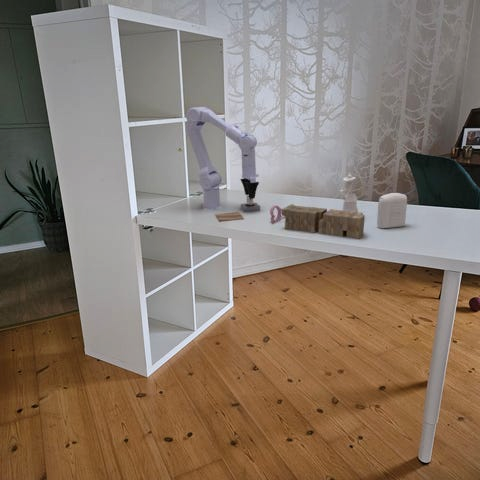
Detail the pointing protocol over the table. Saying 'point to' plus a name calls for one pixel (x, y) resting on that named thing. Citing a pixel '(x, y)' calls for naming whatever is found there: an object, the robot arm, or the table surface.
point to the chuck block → (250, 207)
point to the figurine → (349, 195)
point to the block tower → (324, 221)
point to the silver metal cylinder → (249, 201)
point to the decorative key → (273, 214)
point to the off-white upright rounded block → (392, 210)
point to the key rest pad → (229, 216)
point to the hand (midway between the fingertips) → (250, 196)
